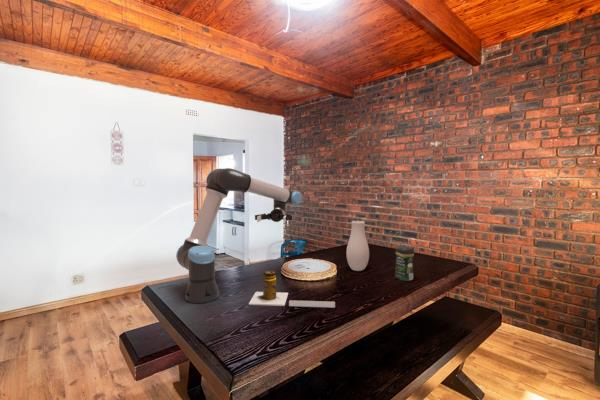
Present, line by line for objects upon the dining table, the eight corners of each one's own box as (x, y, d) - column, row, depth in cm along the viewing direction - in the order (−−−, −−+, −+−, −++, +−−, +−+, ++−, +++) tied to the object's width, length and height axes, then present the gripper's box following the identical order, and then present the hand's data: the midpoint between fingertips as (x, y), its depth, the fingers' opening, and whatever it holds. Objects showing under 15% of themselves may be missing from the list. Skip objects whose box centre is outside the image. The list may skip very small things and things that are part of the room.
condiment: (279, 298, 138) (279, 273, 137) (263, 302, 133) (263, 276, 132) (272, 293, 144) (272, 269, 143) (256, 297, 139) (256, 272, 138)
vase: (341, 268, 187) (342, 220, 185) (359, 265, 193) (360, 219, 191) (354, 274, 175) (355, 223, 173) (373, 271, 180) (374, 222, 178)
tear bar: (289, 306, 131) (289, 301, 131) (289, 304, 132) (289, 300, 132) (334, 307, 129) (334, 303, 129) (334, 306, 131) (334, 301, 131)
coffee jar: (392, 277, 170) (393, 245, 168) (402, 275, 173) (403, 243, 172) (405, 282, 161) (405, 248, 160) (415, 280, 164) (416, 247, 163)
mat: (248, 304, 132) (248, 303, 132) (255, 292, 146) (255, 291, 146) (284, 305, 131) (284, 304, 131) (288, 293, 145) (288, 292, 145)
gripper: (298, 221, 173) (295, 227, 152) (256, 220, 175) (247, 226, 154) (298, 208, 173) (295, 212, 152) (256, 208, 175) (246, 212, 154)
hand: (270, 219), depth 153 cm, fingers open, 13 cm apart
